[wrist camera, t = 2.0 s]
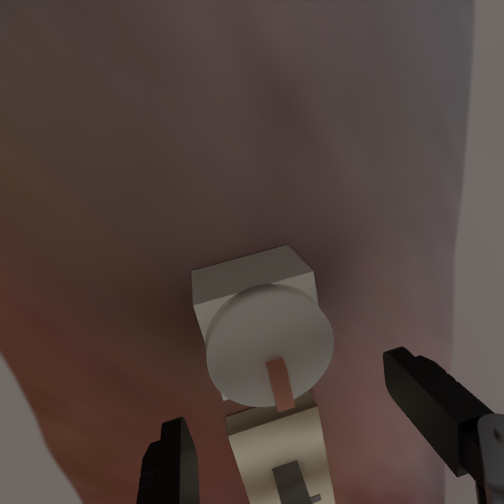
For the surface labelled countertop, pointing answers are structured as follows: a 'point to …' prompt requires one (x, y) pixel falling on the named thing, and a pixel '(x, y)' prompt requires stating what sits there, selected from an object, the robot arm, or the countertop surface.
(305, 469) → the board
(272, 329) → the knob
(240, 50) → the countertop surface
